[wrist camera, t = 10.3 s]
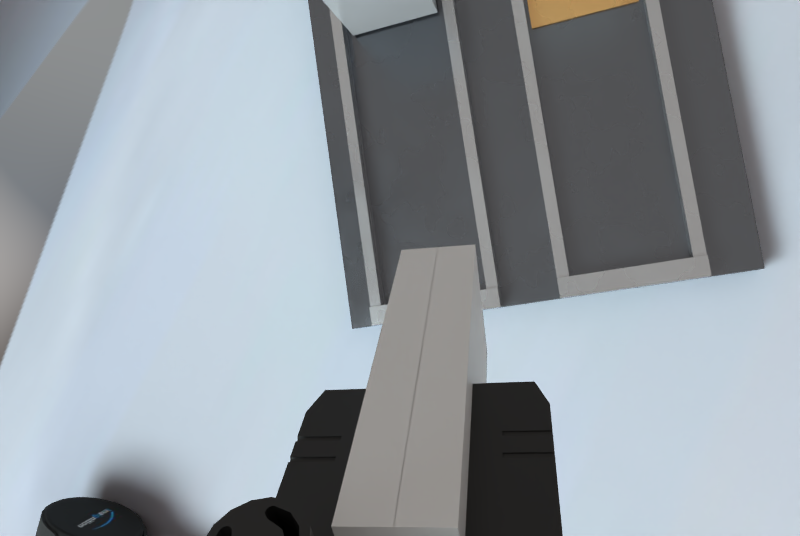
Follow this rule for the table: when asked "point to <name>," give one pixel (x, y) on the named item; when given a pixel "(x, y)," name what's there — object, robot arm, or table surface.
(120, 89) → the table surface
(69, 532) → the headset
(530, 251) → the grey board
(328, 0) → the block
